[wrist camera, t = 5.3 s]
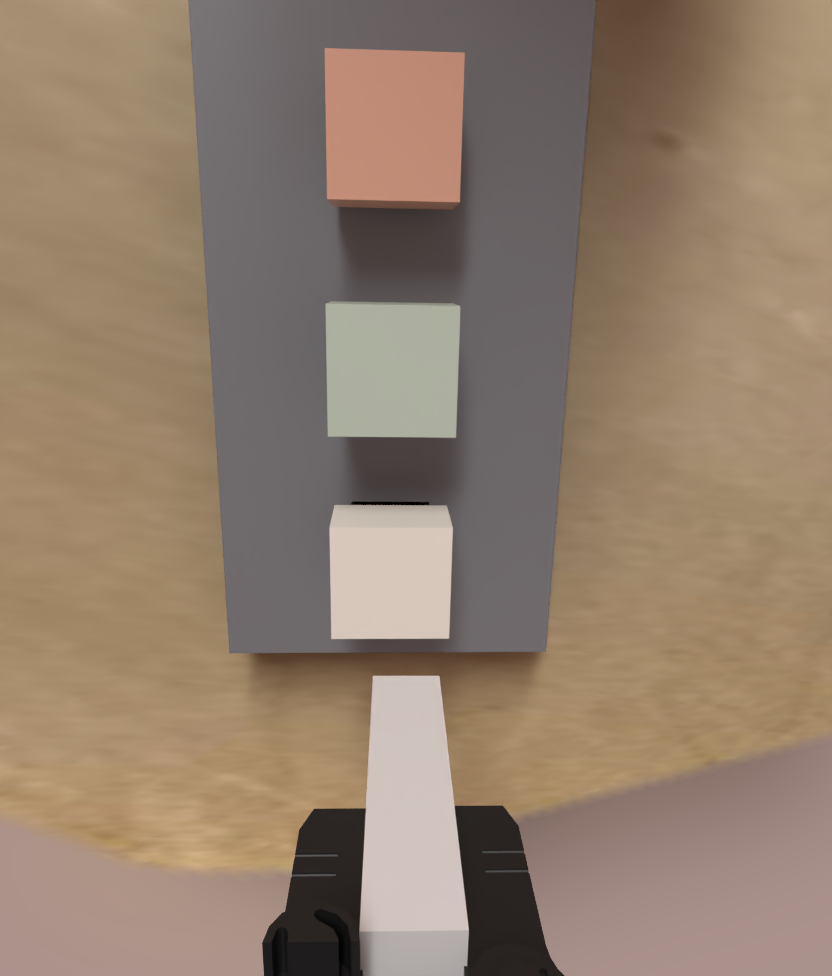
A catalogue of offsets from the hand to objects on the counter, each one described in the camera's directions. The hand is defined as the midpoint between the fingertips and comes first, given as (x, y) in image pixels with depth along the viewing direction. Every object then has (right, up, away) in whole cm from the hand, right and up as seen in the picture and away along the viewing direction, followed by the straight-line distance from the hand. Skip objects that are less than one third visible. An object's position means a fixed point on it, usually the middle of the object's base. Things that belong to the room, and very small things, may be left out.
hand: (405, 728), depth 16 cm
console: (-1, +11, +13) cm, 17 cm away
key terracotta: (-1, +18, +10) cm, 20 cm away
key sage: (-1, +10, +11) cm, 15 cm away
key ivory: (-1, +4, +12) cm, 13 cm away
